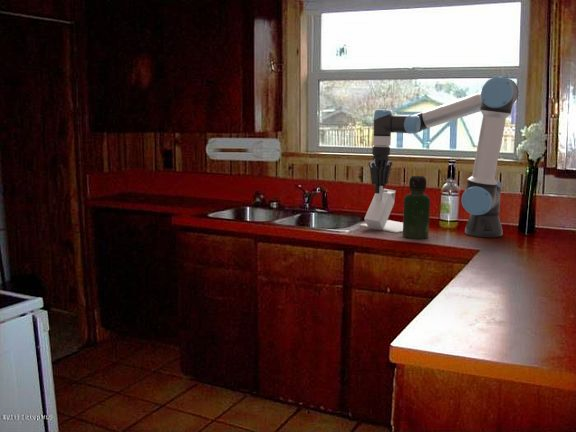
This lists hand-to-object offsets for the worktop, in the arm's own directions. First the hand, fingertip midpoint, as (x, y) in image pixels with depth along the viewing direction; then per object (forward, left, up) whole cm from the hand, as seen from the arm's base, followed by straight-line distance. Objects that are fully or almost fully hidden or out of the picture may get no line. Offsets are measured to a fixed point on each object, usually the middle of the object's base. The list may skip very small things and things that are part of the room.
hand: (378, 200), depth 272 cm
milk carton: (0, +3, -10) cm, 11 cm away
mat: (+1, -10, -13) cm, 16 cm away
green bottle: (-20, -1, -13) cm, 24 cm away
